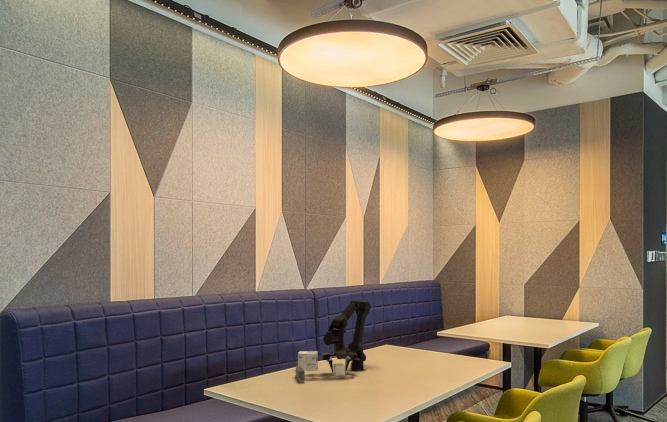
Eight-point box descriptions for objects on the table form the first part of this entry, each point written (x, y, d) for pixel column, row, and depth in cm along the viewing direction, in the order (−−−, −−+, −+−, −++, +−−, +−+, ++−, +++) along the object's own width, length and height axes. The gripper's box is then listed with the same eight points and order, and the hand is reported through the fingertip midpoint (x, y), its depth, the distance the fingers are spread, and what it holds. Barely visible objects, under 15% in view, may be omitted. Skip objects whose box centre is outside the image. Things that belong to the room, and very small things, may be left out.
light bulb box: (318, 370, 295) (318, 350, 295) (316, 372, 288) (316, 353, 289) (299, 369, 296) (299, 350, 296) (297, 372, 289) (297, 353, 290)
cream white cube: (342, 374, 279) (342, 363, 280) (345, 377, 274) (344, 365, 274) (333, 374, 278) (333, 363, 279) (335, 377, 273) (335, 366, 273)
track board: (349, 374, 284) (348, 363, 285) (355, 380, 270) (354, 368, 271) (294, 377, 278) (294, 365, 279) (298, 383, 265) (298, 371, 265)
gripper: (324, 345, 268) (324, 376, 266) (359, 344, 271) (359, 374, 270) (320, 342, 279) (321, 371, 277) (354, 340, 282) (354, 369, 281)
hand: (339, 372), depth 276 cm, fingers open, 7 cm apart
